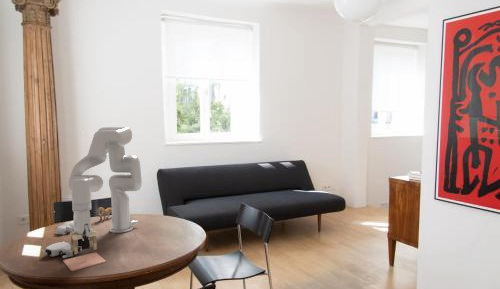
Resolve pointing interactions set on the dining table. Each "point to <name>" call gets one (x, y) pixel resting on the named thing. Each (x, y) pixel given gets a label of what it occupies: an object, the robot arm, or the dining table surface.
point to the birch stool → (75, 236)
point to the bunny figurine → (65, 228)
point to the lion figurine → (104, 212)
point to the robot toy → (60, 250)
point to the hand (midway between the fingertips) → (83, 247)
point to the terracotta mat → (84, 261)
